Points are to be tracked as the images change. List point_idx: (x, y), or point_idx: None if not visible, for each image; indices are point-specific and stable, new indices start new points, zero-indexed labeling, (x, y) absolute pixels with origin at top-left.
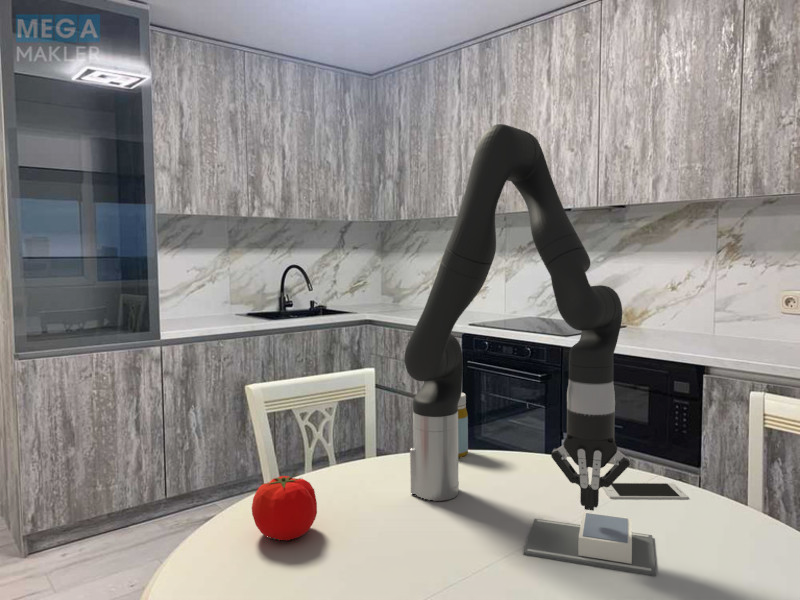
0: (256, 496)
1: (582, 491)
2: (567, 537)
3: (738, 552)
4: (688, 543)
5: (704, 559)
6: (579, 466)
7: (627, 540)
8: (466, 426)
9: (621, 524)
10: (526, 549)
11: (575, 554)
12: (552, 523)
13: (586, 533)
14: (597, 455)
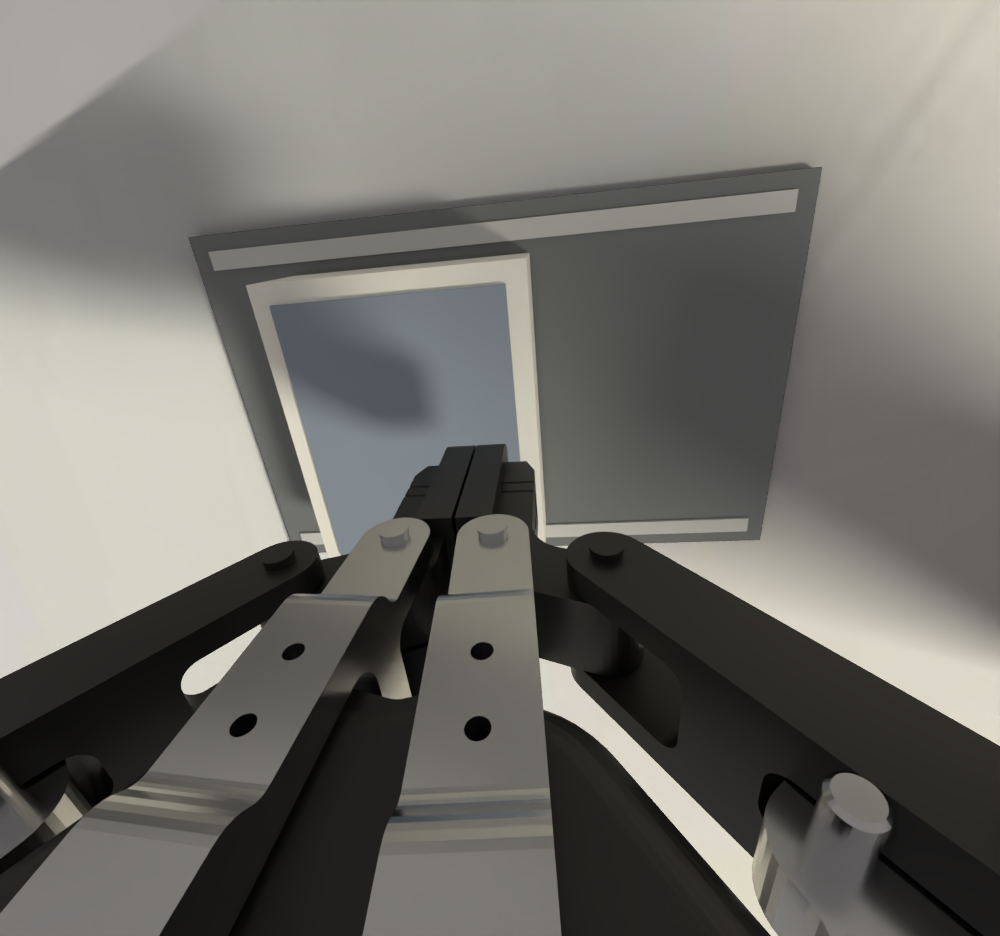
0: None
1: (516, 514)
2: (600, 421)
3: (42, 540)
4: (185, 547)
5: (103, 455)
6: (528, 668)
7: (275, 324)
8: None
9: (349, 490)
10: (801, 207)
11: (545, 265)
12: (676, 520)
13: (489, 321)
14: (82, 921)
